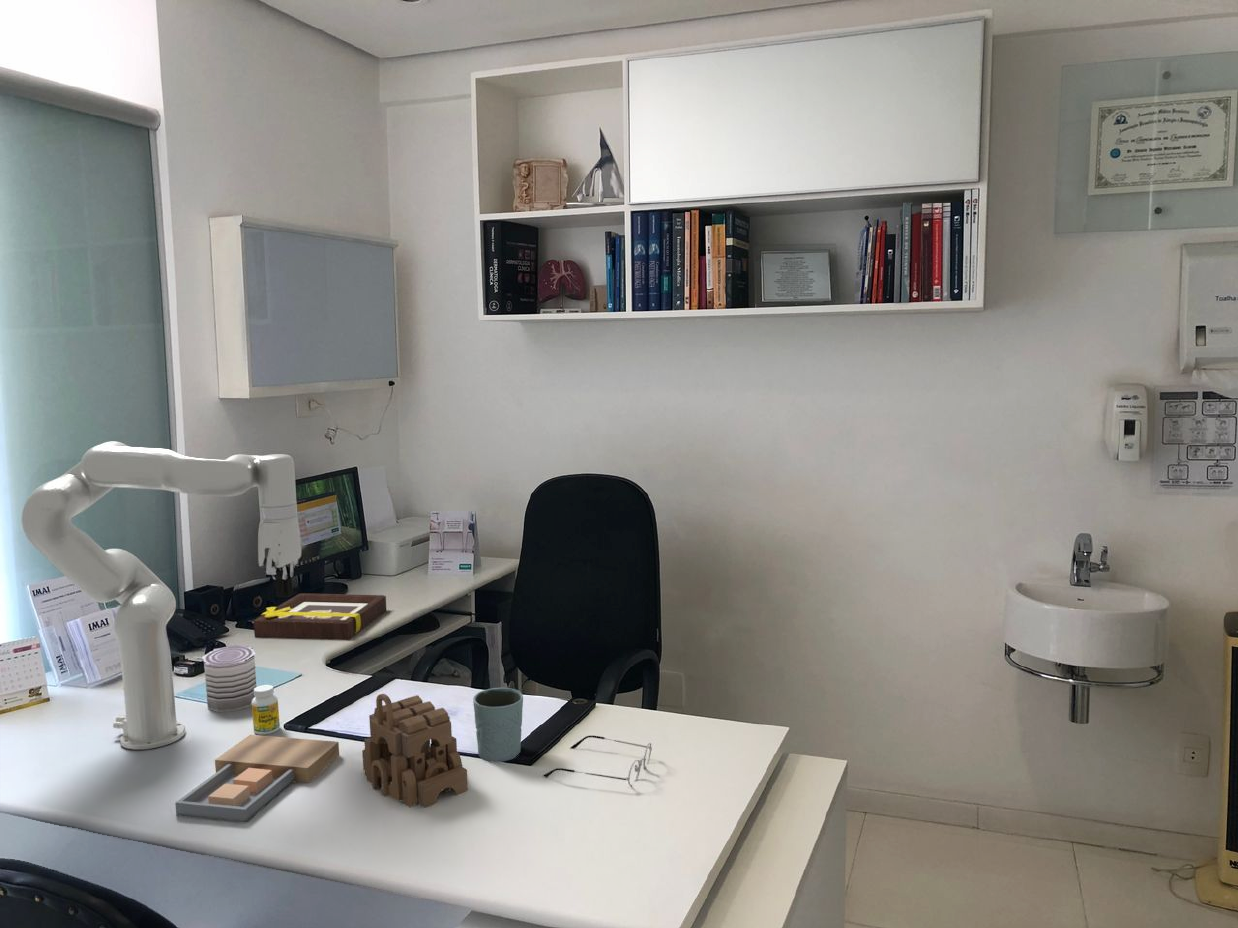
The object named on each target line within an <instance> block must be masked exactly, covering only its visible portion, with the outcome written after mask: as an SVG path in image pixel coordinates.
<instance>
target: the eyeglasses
mask: <svg viewBox="0 0 1238 928" xmlns="http://www.w3.org/2000/svg"><path fill="white" fill-rule="evenodd" d="M590 738H593V739H601V740H609V741H613V742H615V743H616V742H617V743H619V744H627V745H630V746H635V747H641V748H643V749H644V748H645V752H644V755H643V756H642V757H643V758H641V759H635V760H634V761H633V762H632V764H631V766H630V768H629V771H628V776H626V777H620V776H613V775H606V774H599V773H591V772H583V771H577V770H575V769H569V768H561V767H558V768H554V769H552V770H550V771H549V772H547V773H545V774H543V777H545V778H548V777H550V776H551V775H552V774H554V772H556V771H563V772H568V773H569V772H570V773H578V774H579V773H580V774H585V775H588V776H594V777H595V776H596V777H602V778H609V779H613V780H615V779H616V780H621V781H627V782H628V783H627V784H628V785H629V786H631V787H632V784H631V782H630V779H631V772H632V769H633V767H634V772H635V773H637V774H636V776H635V779H634V781H633V783H636V782H637V781H638V778H639V776H640V773H641V767H643V769H644V770H646V769H647V767H646V765H649V763H650V760H651V754H652V753H651V752H652V750H653V747H652V743H651V742H648V744H647V745H644V744H639V743H633V742H628V741H623V740H617V739H611V738H607V737H605V736H599V735H585V737H583V738H581V739H580V740H578V741H577V742H576V743H575V744H573V745H572V746H570V747H569V749H571V750H572V749H573V750H575V749H576V748H577V747H578V746H580V744H582V742H584V741H585V740H587V739H590ZM648 749H649V753H648V759H646V758H647V752H648ZM646 760H647V762H646ZM636 762H637V763H638V764H635V763H636Z"/></svg>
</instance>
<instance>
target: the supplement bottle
mask: <svg viewBox="0 0 1238 928" xmlns="http://www.w3.org/2000/svg"><path fill="white" fill-rule="evenodd" d="M254 696H255V697H254V698H253V700H252V705H251V711H252V713H251V714H252V725H253V733H255V735H256V734H257V735H260V736H266V735H270V734H273V733H276V732H277V731H279V729H280V726H281V723H280V713H279V699H278V696H277V695H275V694H274V686H273V685H270V684H264V685H263V684H261V685H257V687H256V688H254Z"/></svg>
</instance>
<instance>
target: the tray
mask: <svg viewBox="0 0 1238 928" xmlns="http://www.w3.org/2000/svg"><path fill="white" fill-rule="evenodd" d="M238 775H240V774H233V766H232V764H227V765H226V766H225V767H223V768H222V769H221V770H219V771H218V772H216V771H215V773H213V774H212V775H211V776H210V777H208V778H207V779H205V780H204V781H202V783H200V784H199V785H197V786H196V787H195V788H193V789H192V790H190V791H189V792H188V793H186V794H185V795H184V796H182V797H181V798H180V799H178V800H177V801H175V803H174V804H175V815H176V817H185V818H195V819H206V820H214V821H222V822H223V821H226V822H235V823H244V824H246V823H248V822H249V821H251V819H253V818H254V817H255V816H256V815H257V814H259V812H261V811H262V810H264V809H265V808H266V807H267V806H268V805H269V804H270V803H272V802H273V800H275V799H276V798H277V797H278V796H279V795H281V794H282V793H283V792H284V791H286V789H287V788H289V787H290V786H291V785H292V784H294V783H296V782H295V780H294V769H289V770H288V771H287V772H286V773H284V774H283V775H282V776H281V777H280V778H277V777H273V781H272V782H271V783H270V784H268V785H267V786H266V787H264V788H263V789H262V790H261V791H259V792H258V793H252V792H249V793H250V797H249V798H248V799H247V800H246V801H244V802H243V803H242V804H241V805H239V806H228V805H218V804H209V800H208V796H209V795H211V794H212V793H213V792H215V791H216V790H217V789H218V788H220V787H221V786H222V785H224V784H233V779H234V778H236V777H237V776H238Z"/></svg>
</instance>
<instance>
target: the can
mask: <svg viewBox="0 0 1238 928" xmlns="http://www.w3.org/2000/svg"><path fill="white" fill-rule="evenodd" d="M256 654H257V653H256V652H255V650H254V648H253V647H252V646H249V645H248V646H247V645H240V644H232V645H228V646H224V647H219V648H214V649H213V650H211V651H209V652H207V653H206V654H204V655H202V657H201V658H202V661H203V664H204V665H203V666H204V677H205V689H206V690H205V692H206V703H207V709H208V711H209V710H210V711H213V712H218V713H223V712H236V711H239V710H244V709H245V708H250V707H252V700H253V698H254V697H255V696H254V688H256V687H258V685H257V676H256V675H257V674H256V662H255V655H256Z"/></svg>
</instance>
